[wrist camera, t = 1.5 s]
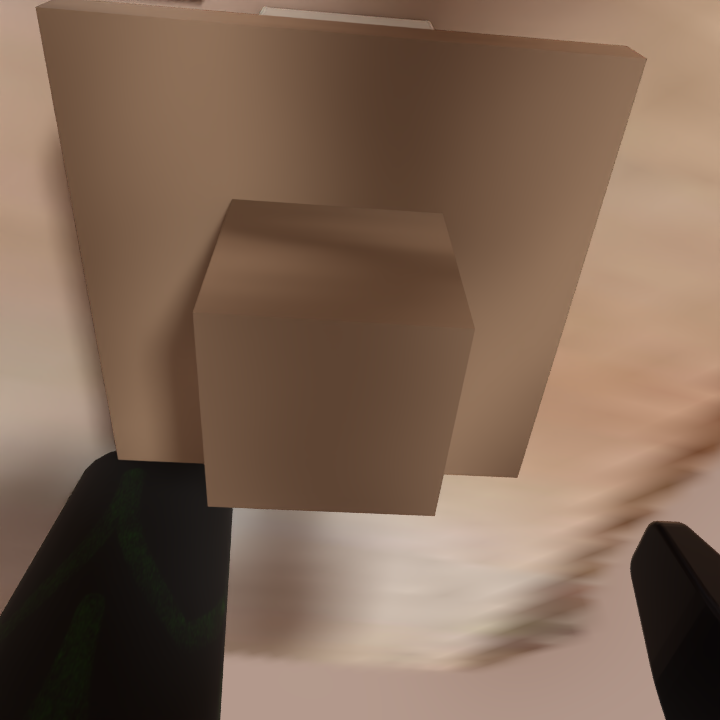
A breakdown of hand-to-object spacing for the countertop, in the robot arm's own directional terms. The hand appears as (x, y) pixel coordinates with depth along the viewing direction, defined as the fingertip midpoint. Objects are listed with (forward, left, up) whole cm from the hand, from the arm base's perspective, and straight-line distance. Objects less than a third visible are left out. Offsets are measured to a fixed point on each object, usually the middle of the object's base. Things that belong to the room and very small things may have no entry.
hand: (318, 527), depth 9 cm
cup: (-6, -12, -11) cm, 18 cm away
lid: (0, 0, -7) cm, 7 cm away
